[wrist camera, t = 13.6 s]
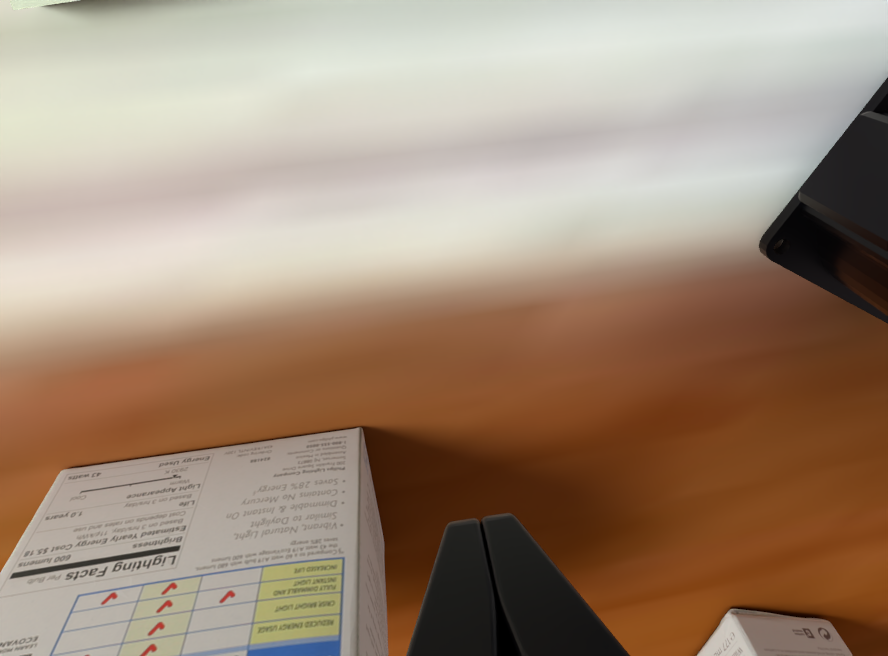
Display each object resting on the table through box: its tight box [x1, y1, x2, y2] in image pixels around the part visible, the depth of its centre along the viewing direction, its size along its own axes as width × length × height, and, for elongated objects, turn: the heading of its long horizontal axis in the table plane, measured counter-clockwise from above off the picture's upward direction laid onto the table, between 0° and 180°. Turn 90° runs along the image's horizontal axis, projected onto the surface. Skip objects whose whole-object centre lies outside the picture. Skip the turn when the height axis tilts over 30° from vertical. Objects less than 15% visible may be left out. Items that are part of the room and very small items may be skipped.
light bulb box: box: [0, 427, 388, 656], centre depth 19 cm, size 11×7×11 cm, turn 96°
